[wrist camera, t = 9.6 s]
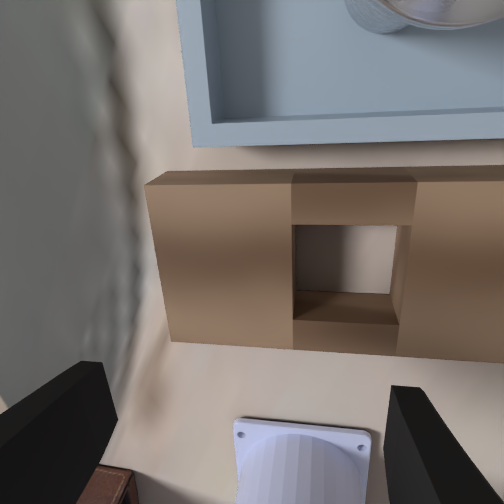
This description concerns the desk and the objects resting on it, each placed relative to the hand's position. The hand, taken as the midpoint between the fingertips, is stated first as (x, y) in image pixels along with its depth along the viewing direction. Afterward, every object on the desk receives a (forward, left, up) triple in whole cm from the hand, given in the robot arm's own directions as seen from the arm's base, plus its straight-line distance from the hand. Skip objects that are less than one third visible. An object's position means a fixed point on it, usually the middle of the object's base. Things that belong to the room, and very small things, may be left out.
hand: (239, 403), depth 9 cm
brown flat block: (0, -3, -9) cm, 10 cm away
